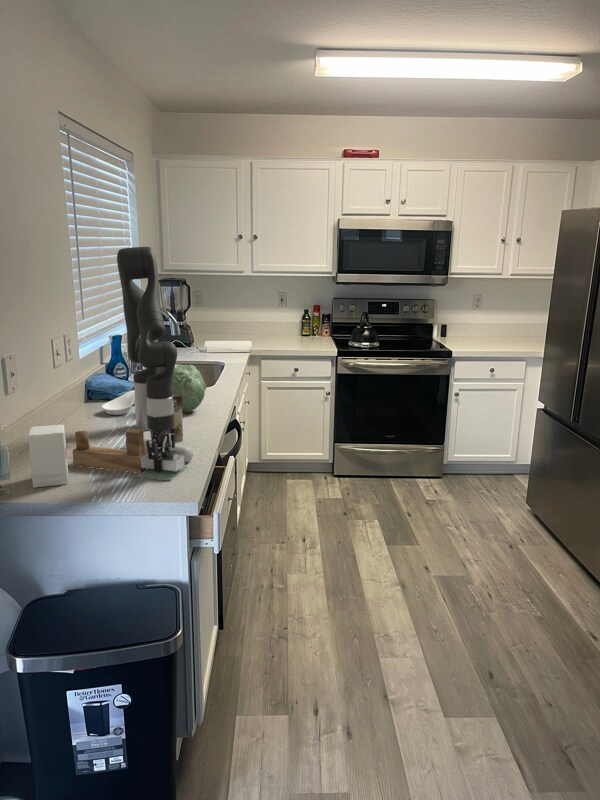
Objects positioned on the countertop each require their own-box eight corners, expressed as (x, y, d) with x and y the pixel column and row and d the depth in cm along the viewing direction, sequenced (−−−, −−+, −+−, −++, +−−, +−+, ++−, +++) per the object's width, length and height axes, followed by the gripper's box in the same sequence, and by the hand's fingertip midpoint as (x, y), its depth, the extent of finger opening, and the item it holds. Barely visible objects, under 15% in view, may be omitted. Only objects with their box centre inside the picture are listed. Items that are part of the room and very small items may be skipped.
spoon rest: (119, 419, 224) (118, 401, 222) (95, 415, 228) (94, 398, 227) (156, 405, 245) (155, 388, 244) (133, 402, 250) (132, 386, 248)
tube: (194, 464, 179) (135, 449, 191) (197, 447, 179) (138, 433, 191) (183, 464, 174) (123, 449, 186) (186, 446, 174) (126, 432, 186)
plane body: (82, 461, 177) (79, 423, 174) (148, 467, 172) (146, 429, 169) (73, 466, 173) (70, 427, 170) (140, 473, 168) (138, 433, 165)
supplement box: (68, 484, 159) (63, 432, 155) (32, 488, 156) (27, 435, 153) (69, 473, 167) (64, 423, 164) (35, 476, 164) (30, 426, 161)
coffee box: (160, 446, 192) (158, 399, 188) (150, 442, 196) (147, 396, 192) (183, 440, 198) (182, 395, 194) (173, 436, 202) (171, 391, 199)
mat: (156, 464, 175) (156, 462, 175) (187, 467, 173) (187, 465, 173) (138, 477, 165) (138, 475, 165) (170, 480, 163) (170, 478, 162)
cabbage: (206, 416, 228) (205, 366, 223) (157, 417, 226) (155, 367, 221) (207, 406, 243) (205, 359, 239) (161, 407, 241) (159, 360, 236)
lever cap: (150, 461, 172) (149, 446, 171) (184, 464, 170) (183, 449, 169) (141, 467, 167) (140, 452, 166) (176, 471, 165) (175, 455, 164)
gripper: (159, 404, 172) (162, 458, 176) (135, 417, 159) (139, 475, 163) (183, 406, 170) (185, 461, 175) (160, 419, 157) (163, 478, 161)
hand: (163, 467), depth 169 cm, fingers closed on lever cap, 5 cm apart
